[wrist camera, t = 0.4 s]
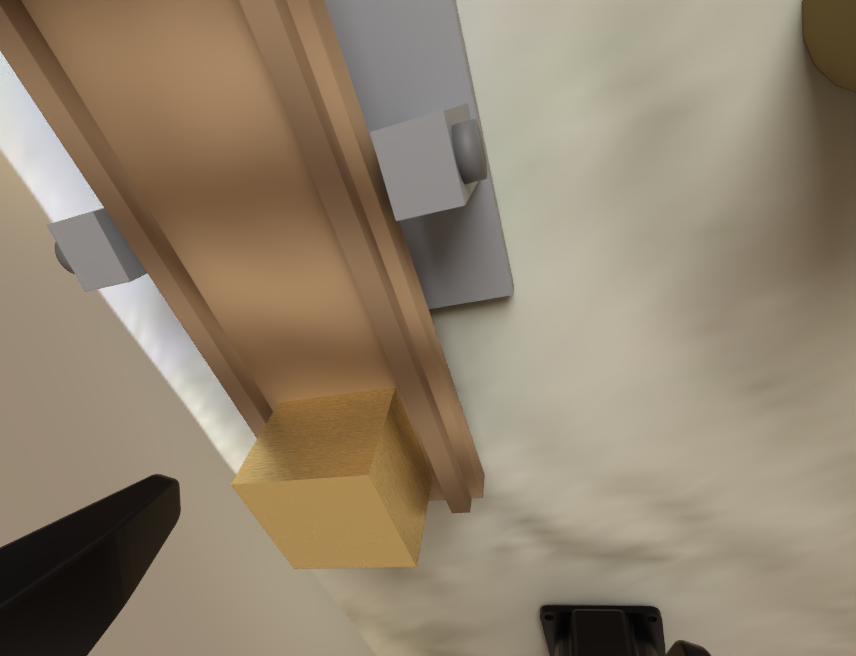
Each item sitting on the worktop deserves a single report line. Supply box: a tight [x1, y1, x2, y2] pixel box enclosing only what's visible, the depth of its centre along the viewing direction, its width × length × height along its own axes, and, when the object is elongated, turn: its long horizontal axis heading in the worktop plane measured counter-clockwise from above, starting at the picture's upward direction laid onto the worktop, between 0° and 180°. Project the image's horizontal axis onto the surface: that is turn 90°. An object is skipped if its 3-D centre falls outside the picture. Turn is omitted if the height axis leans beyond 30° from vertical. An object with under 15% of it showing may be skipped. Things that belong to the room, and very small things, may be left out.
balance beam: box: [0, 0, 484, 513], centre depth 15 cm, size 28×9×2 cm, turn 15°
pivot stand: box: [47, 0, 514, 309], centre depth 17 cm, size 12×15×6 cm
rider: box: [231, 388, 433, 569], centre depth 18 cm, size 5×5×4 cm
